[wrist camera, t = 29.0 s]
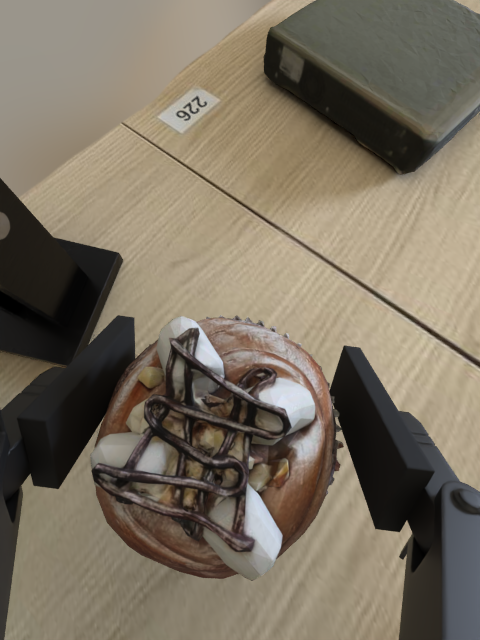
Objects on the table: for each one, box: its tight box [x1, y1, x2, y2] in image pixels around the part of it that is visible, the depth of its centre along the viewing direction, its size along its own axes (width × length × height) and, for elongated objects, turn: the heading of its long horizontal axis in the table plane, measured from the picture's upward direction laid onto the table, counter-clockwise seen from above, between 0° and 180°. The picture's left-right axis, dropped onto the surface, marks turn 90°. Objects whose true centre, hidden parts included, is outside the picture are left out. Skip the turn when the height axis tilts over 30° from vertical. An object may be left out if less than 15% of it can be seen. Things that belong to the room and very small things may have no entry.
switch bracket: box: [0, 178, 123, 367], centre depth 19 cm, size 10×8×13 cm
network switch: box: [264, 0, 480, 175], centre depth 34 cm, size 23×24×5 cm
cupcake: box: [91, 315, 344, 581], centre depth 12 cm, size 10×10×10 cm
